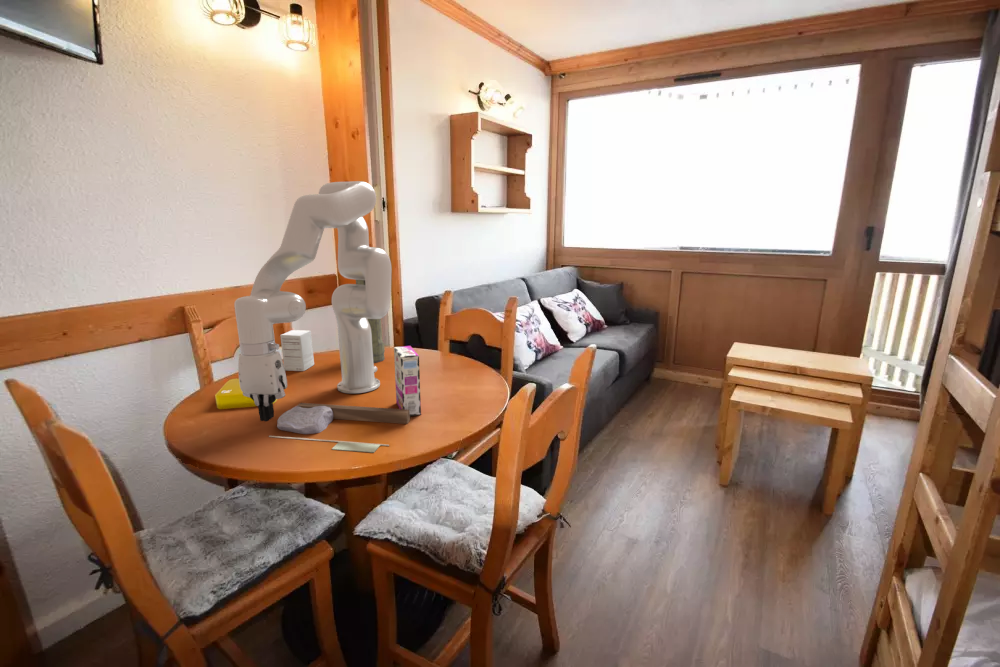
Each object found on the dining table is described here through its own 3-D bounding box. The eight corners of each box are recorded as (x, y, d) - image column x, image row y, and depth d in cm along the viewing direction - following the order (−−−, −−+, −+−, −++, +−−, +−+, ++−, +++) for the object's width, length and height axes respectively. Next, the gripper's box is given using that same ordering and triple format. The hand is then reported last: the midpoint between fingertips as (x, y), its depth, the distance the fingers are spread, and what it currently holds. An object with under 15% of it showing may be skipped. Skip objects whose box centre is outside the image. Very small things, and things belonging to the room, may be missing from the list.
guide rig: (301, 413, 127) (300, 402, 126) (409, 420, 122) (409, 409, 121) (259, 443, 110) (257, 431, 109) (382, 453, 105) (381, 441, 104)
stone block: (321, 441, 115) (336, 417, 124) (317, 425, 113) (333, 402, 122) (274, 441, 116) (293, 417, 125) (269, 425, 114) (288, 402, 123)
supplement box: (295, 364, 170) (291, 329, 167) (315, 365, 169) (311, 330, 166) (283, 370, 162) (279, 334, 159) (303, 371, 161) (300, 335, 158)
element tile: (284, 387, 147) (282, 373, 146) (274, 406, 133) (272, 389, 132) (231, 392, 144) (229, 377, 143) (214, 411, 130) (212, 394, 128)
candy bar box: (422, 415, 126) (419, 355, 122) (403, 417, 124) (400, 357, 120) (413, 400, 136) (410, 344, 132) (395, 402, 134) (392, 346, 130)
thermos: (381, 354, 182) (375, 261, 173) (387, 362, 171) (381, 264, 163) (357, 356, 178) (350, 262, 170) (362, 365, 168) (355, 265, 159)
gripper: (295, 345, 116) (303, 415, 121) (240, 342, 119) (250, 411, 123) (276, 353, 109) (285, 427, 114) (218, 350, 112) (229, 423, 116)
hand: (267, 418), depth 118 cm, fingers closed
